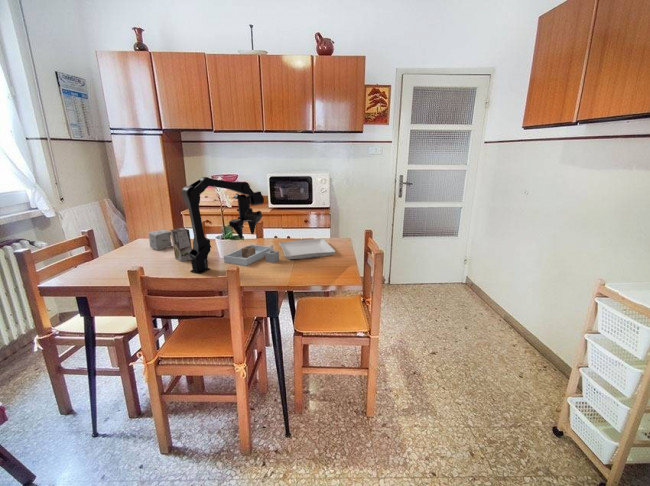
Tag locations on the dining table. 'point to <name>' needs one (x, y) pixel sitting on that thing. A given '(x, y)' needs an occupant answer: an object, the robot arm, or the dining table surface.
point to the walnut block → (248, 251)
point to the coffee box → (181, 244)
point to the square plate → (306, 248)
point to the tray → (238, 260)
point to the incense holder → (160, 239)
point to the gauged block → (272, 255)
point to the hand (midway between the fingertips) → (247, 236)
